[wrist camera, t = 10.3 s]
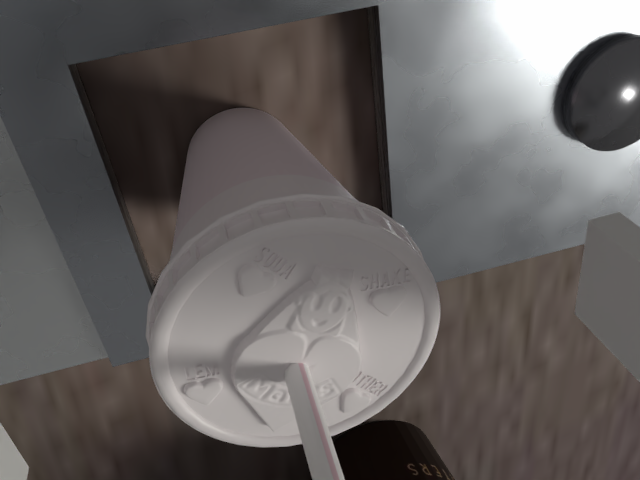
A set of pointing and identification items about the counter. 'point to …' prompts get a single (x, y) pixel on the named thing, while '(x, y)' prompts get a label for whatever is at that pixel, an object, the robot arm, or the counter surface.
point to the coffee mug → (389, 453)
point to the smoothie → (283, 297)
